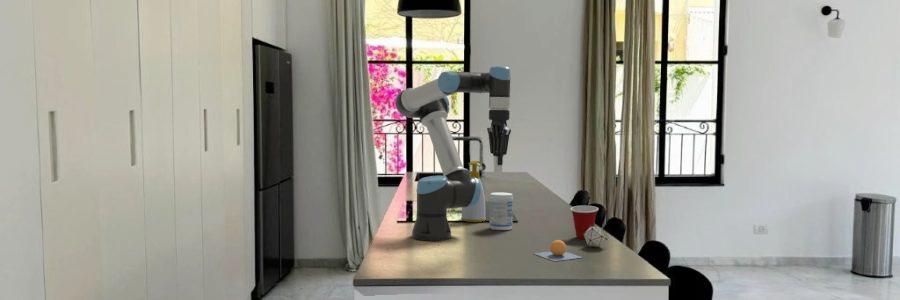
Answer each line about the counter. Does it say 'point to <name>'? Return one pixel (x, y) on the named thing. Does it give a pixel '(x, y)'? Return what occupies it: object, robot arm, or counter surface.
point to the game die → (594, 236)
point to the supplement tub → (501, 211)
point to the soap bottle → (478, 210)
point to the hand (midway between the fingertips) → (497, 173)
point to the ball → (558, 247)
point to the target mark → (557, 258)
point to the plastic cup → (583, 219)
